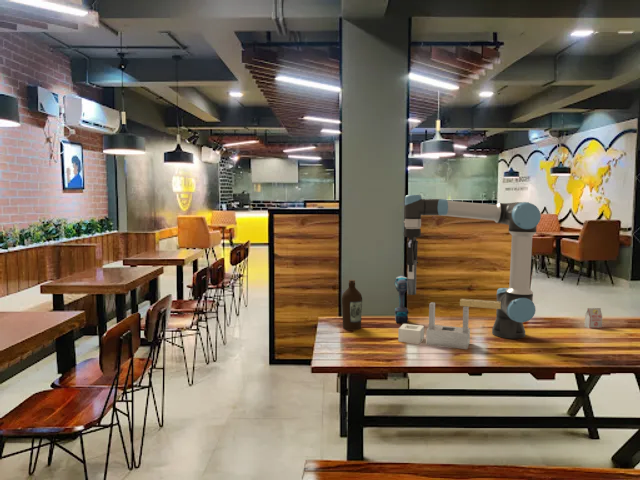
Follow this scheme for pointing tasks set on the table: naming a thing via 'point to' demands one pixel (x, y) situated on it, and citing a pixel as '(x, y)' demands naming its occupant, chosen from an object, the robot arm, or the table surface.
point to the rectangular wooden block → (480, 303)
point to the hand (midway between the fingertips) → (411, 277)
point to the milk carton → (593, 318)
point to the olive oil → (351, 307)
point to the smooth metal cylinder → (412, 282)
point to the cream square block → (411, 333)
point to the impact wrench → (401, 299)
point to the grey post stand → (448, 331)
